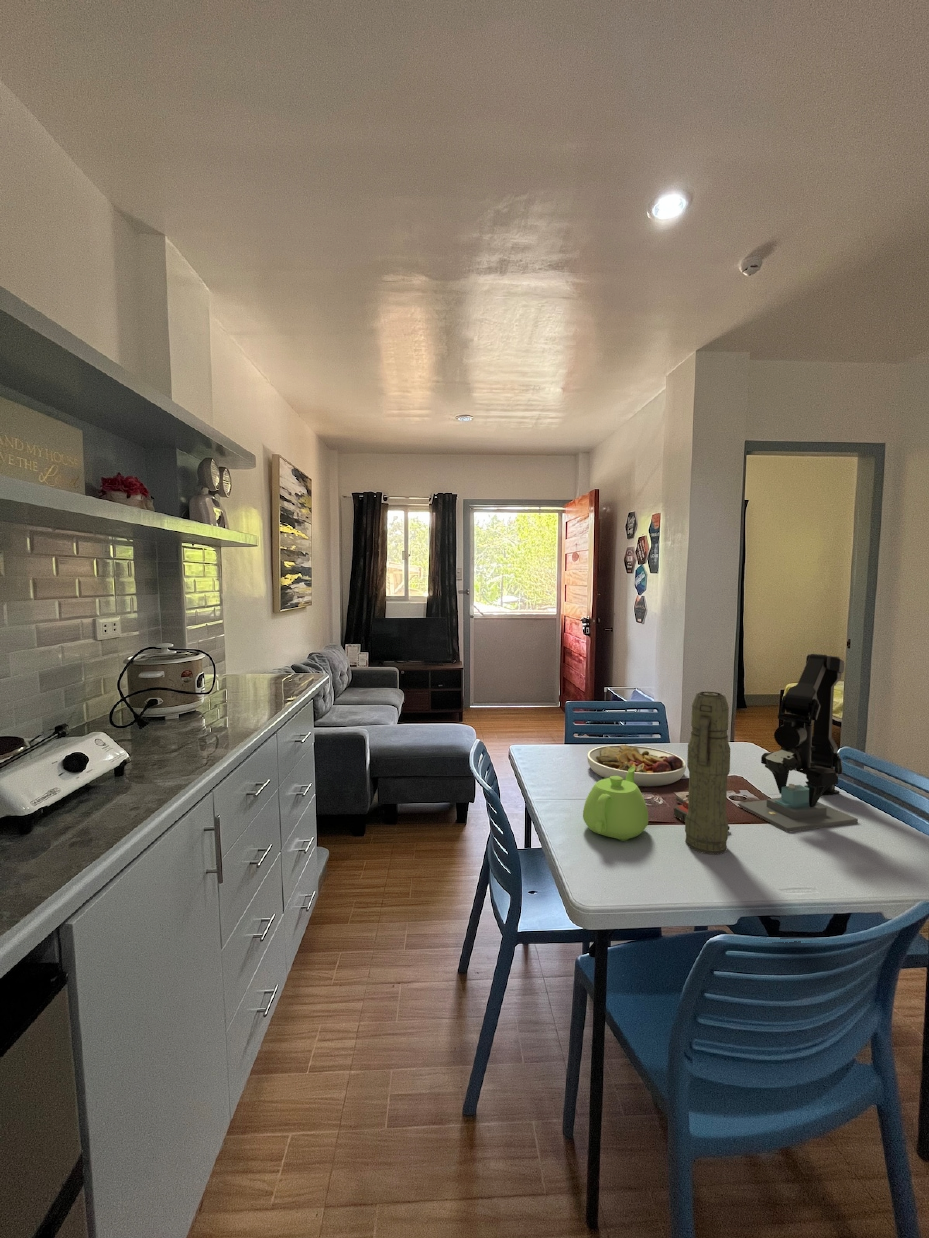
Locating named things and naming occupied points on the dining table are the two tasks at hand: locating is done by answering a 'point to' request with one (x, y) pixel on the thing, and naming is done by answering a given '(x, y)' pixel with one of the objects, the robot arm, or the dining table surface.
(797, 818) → the plate
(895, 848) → the dining table surface
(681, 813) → the walkie-talkie
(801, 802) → the servo
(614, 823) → the teapot
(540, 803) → the dining table surface
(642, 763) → the bowl
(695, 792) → the thermos
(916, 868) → the dining table surface
